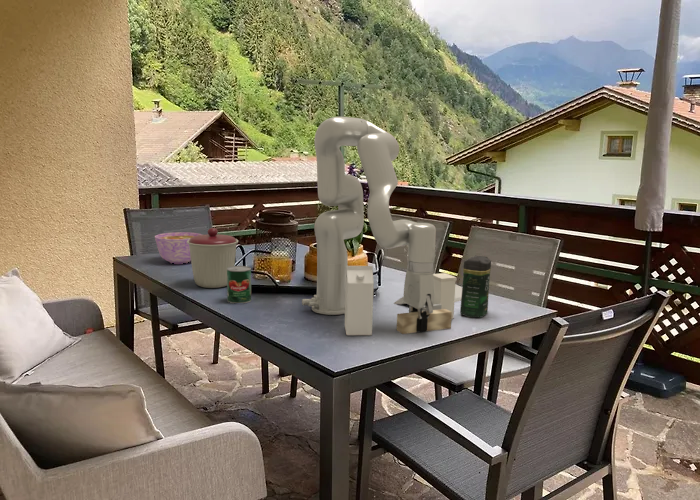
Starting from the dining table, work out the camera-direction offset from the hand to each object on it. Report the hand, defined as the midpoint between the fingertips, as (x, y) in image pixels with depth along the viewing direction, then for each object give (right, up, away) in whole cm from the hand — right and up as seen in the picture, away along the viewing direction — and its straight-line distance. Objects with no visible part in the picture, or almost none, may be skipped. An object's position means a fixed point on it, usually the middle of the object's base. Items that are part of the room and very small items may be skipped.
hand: (418, 328), depth 171 cm
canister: (-69, +10, +47) cm, 84 cm away
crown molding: (+10, +5, +33) cm, 35 cm away
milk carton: (-17, -1, -3) cm, 17 cm away
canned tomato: (-56, +6, +27) cm, 62 cm away
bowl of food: (-93, +17, +85) cm, 127 cm away
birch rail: (+2, 0, +1) cm, 2 cm away
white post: (+6, +2, +13) cm, 14 cm away
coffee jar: (+20, +2, +17) cm, 26 cm away
